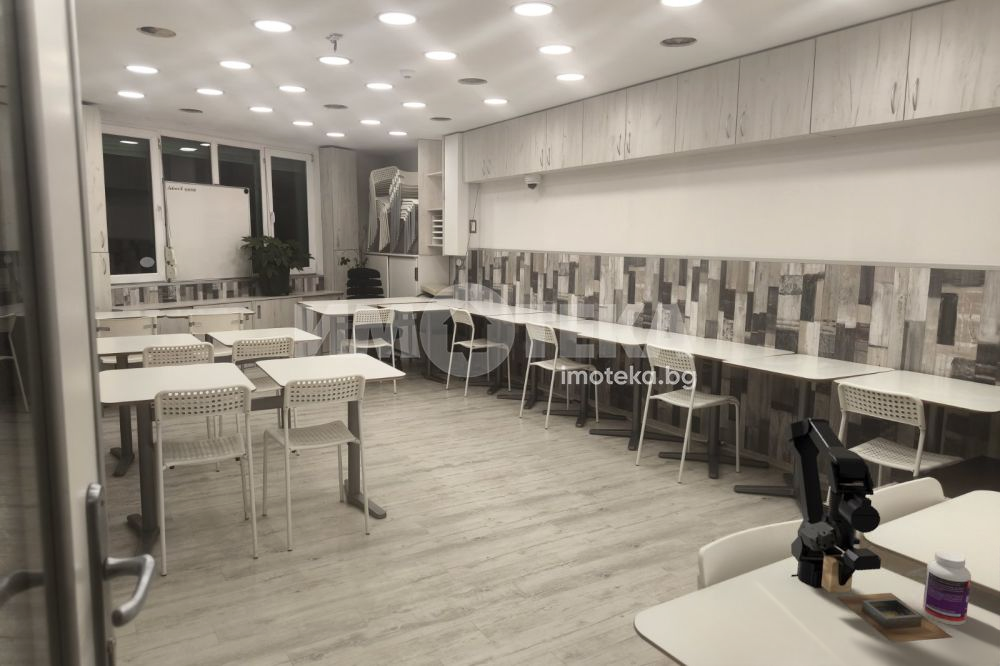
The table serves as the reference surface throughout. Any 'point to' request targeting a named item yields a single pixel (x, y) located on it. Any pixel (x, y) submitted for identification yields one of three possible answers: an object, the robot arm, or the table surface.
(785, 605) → the table surface
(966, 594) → the pill bottle
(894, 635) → the board
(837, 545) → the robot arm
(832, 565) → the tan wooden brick
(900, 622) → the tin
